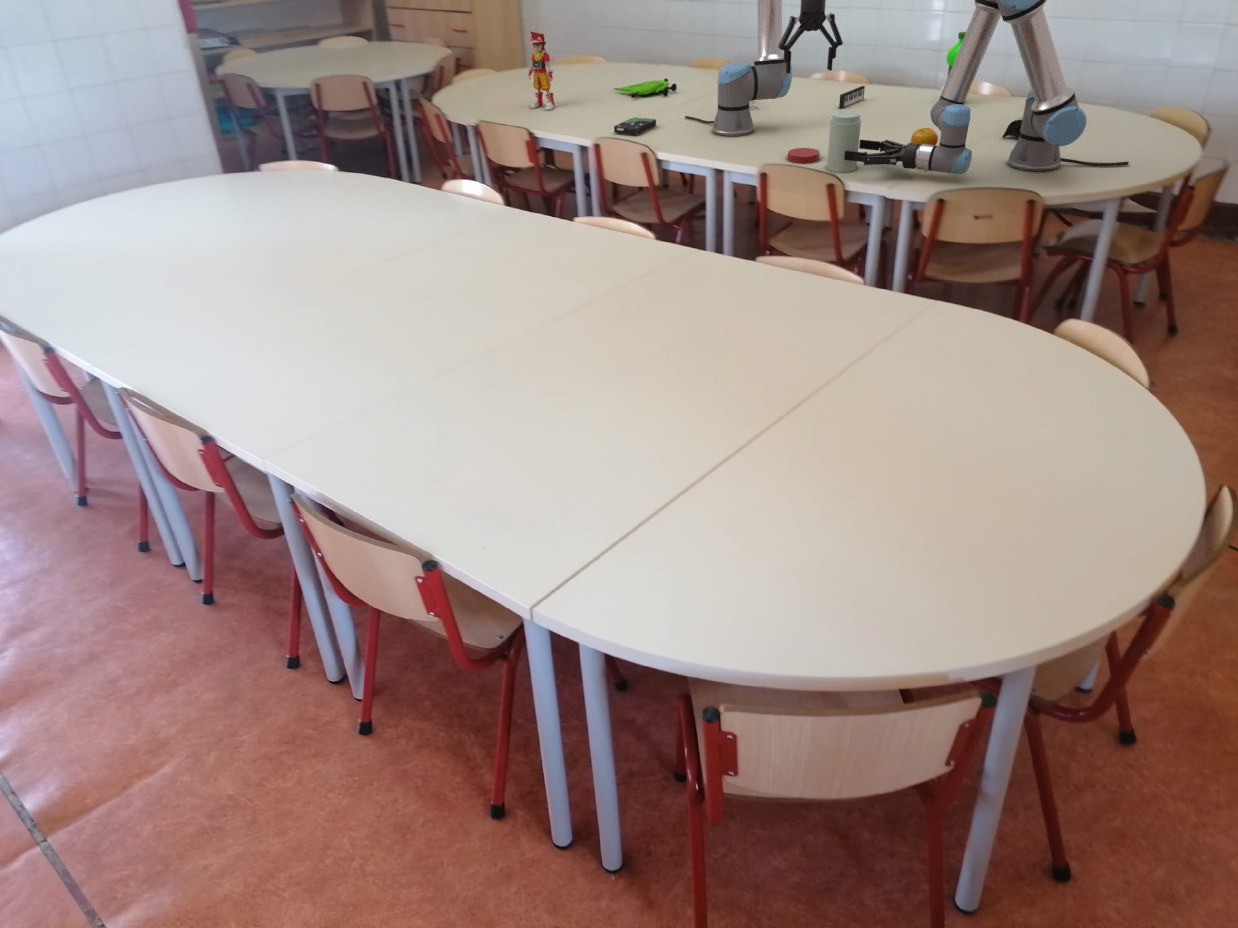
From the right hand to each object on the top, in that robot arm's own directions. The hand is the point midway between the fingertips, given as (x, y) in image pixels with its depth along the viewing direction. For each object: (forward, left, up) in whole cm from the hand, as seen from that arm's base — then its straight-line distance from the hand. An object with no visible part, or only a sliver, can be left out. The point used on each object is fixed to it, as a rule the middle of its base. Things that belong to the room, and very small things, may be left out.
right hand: (852, 149), depth 289 cm
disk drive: (+76, -54, -6) cm, 93 cm away
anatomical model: (+35, -87, -6) cm, 94 cm away
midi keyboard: (-9, -86, -6) cm, 87 cm away
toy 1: (+120, -94, -6) cm, 152 cm away
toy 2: (+80, -117, -6) cm, 142 cm away
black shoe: (-67, -41, -6) cm, 79 cm away
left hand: (+15, -13, +21) cm, 29 cm away
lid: (+14, -13, -5) cm, 20 cm away
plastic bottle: (-48, -84, -6) cm, 97 cm away
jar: (+3, -1, -6) cm, 7 cm away
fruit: (-26, -19, -6) cm, 33 cm away
